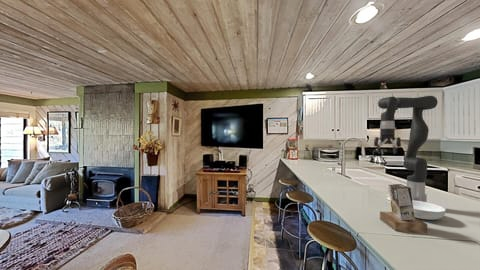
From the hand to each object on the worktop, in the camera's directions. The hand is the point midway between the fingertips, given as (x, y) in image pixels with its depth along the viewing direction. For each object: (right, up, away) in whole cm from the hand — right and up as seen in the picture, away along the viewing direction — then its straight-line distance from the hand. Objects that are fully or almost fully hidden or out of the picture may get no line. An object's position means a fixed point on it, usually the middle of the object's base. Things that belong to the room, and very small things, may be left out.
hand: (387, 153), depth 128 cm
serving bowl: (+12, -37, -11) cm, 40 cm away
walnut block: (-10, -37, -24) cm, 44 cm away
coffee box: (-9, -31, -24) cm, 40 cm away
